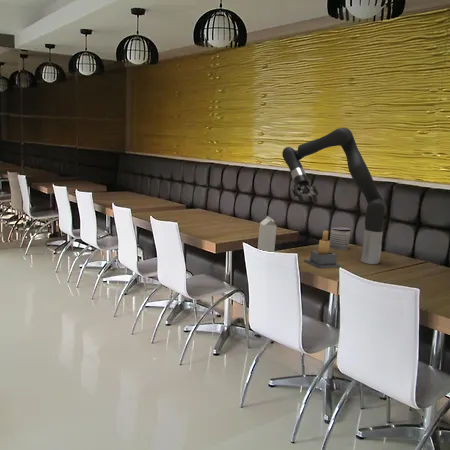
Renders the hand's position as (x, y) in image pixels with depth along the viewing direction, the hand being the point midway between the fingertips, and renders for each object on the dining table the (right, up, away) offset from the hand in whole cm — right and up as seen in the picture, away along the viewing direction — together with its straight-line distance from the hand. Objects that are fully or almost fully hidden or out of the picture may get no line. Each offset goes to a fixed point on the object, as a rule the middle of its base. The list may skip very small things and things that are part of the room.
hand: (309, 202), depth 279 cm
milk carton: (-23, -27, +5) cm, 35 cm away
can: (+22, -26, +30) cm, 45 cm away
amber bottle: (+5, -31, -13) cm, 34 cm away
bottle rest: (+4, -32, -13) cm, 35 cm away
